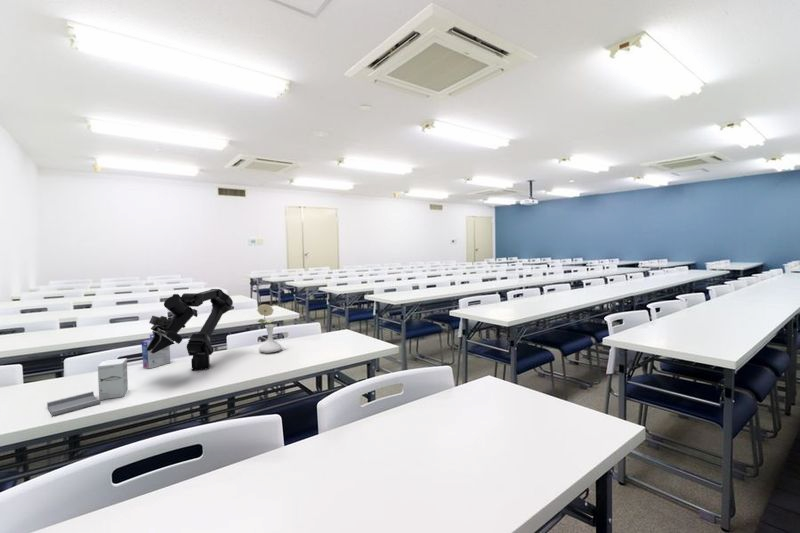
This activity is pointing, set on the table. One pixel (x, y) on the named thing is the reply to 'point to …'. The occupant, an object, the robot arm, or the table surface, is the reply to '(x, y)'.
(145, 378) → the table surface
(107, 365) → the supplement box
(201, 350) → the robot arm
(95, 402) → the tray
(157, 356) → the ink cartridge box
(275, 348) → the flower in vase
